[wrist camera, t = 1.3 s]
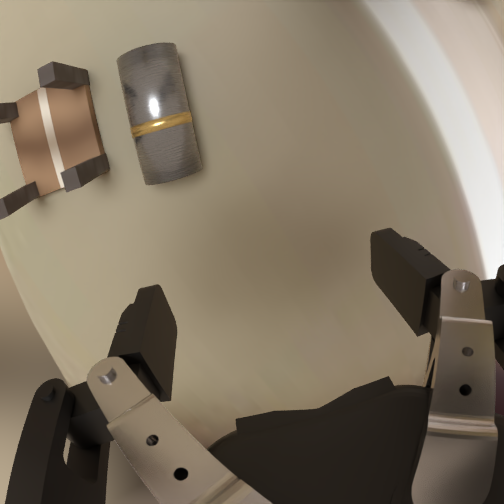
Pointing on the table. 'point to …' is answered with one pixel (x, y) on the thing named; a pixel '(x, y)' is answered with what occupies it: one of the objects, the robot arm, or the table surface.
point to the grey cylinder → (159, 113)
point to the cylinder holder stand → (54, 136)
